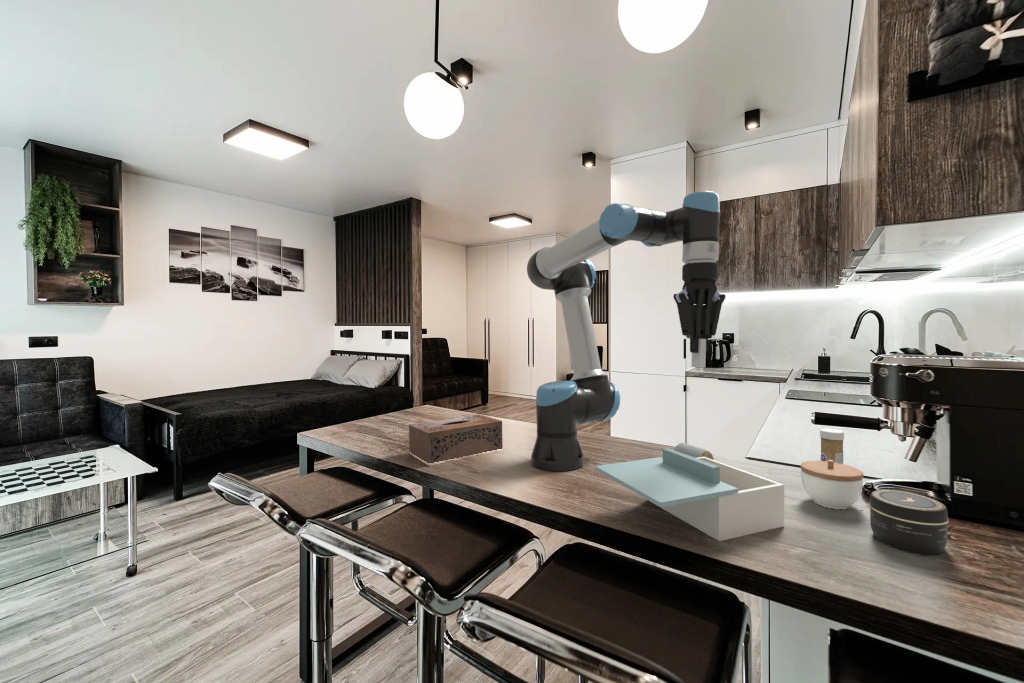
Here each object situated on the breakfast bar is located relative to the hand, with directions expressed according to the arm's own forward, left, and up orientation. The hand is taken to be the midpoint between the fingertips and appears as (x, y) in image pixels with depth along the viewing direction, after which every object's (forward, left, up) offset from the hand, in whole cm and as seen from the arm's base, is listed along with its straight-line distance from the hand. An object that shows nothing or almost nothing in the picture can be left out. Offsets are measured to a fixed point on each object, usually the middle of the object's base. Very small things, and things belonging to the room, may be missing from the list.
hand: (698, 367), depth 96 cm
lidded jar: (+14, +22, -30) cm, 40 cm away
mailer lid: (+8, -17, -21) cm, 29 cm away
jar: (+30, +17, -30) cm, 46 cm away
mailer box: (+8, -5, -29) cm, 31 cm away
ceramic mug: (-12, +10, -30) cm, 34 cm away
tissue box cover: (-56, -45, -30) cm, 78 cm away
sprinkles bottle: (+7, +33, -30) cm, 45 cm away
